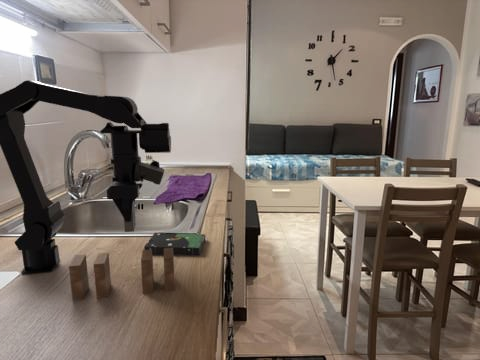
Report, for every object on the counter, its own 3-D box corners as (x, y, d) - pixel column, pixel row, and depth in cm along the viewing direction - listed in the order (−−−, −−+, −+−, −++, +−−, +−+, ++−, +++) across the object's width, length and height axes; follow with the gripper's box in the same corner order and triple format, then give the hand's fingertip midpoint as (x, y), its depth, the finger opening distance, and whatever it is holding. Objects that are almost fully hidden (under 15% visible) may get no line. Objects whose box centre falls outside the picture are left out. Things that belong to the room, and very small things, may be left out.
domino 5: (165, 291, 70) (163, 258, 69) (165, 279, 75) (163, 248, 73) (174, 290, 71) (173, 257, 69) (174, 278, 75) (173, 247, 74)
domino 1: (72, 300, 67) (68, 266, 65) (78, 287, 71) (75, 255, 70) (83, 299, 67) (79, 265, 65) (88, 286, 72) (85, 254, 70)
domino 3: (124, 232, 78) (122, 201, 76) (127, 224, 83) (125, 195, 81) (133, 231, 78) (131, 200, 77) (135, 224, 83) (133, 194, 81)
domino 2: (96, 298, 68) (93, 264, 66) (101, 285, 72) (98, 253, 71) (107, 297, 68) (104, 263, 66) (111, 284, 73) (108, 252, 71)
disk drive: (144, 256, 87) (200, 257, 87) (143, 246, 87) (200, 247, 87) (154, 241, 98) (205, 241, 97) (154, 232, 97) (205, 232, 97)
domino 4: (142, 293, 69) (140, 260, 68) (144, 281, 74) (142, 250, 72) (152, 292, 70) (151, 259, 68) (153, 280, 75) (152, 249, 73)
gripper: (160, 158, 69) (163, 229, 73) (162, 147, 87) (164, 204, 90) (103, 159, 67) (109, 233, 70) (116, 148, 85) (121, 207, 88)
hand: (129, 217), depth 80 cm, fingers closed on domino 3, 5 cm apart
